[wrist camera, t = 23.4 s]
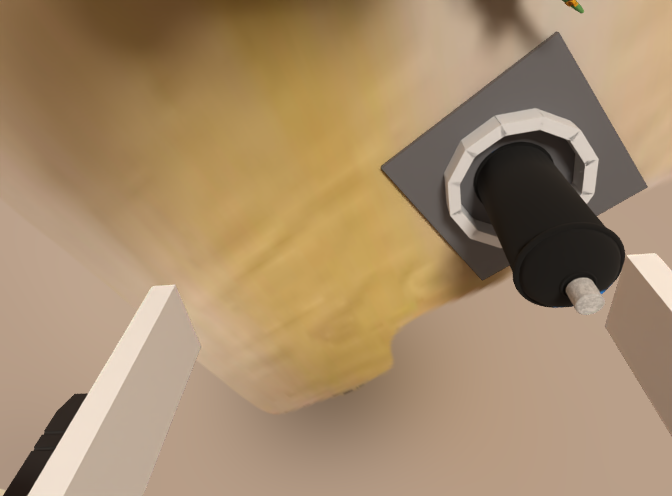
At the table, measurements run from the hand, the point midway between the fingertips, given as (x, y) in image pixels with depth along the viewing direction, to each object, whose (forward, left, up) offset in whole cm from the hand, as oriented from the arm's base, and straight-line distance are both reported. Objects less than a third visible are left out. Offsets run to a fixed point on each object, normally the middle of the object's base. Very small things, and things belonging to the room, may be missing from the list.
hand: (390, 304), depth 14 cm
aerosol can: (+14, -14, -34) cm, 40 cm away
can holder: (+14, -14, -35) cm, 40 cm away
